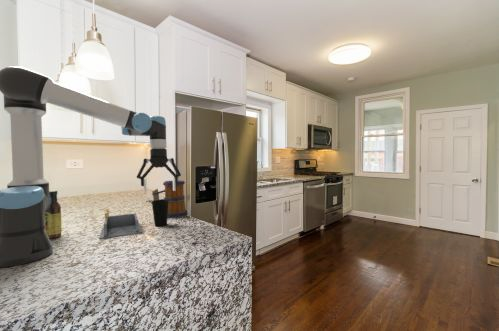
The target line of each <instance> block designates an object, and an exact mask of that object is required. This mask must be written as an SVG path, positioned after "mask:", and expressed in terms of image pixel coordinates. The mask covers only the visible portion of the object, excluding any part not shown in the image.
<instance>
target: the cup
mask: <svg viewBox="0 0 499 331" xmlns="http://www.w3.org/2000/svg"><path fill="white" fill-rule="evenodd" d="M151 207H152V214H153V222H154V227H156V228H160V227H161V228H162V227H165V226H167V225H168V218H167V215H168V200H165V199H159V200H155V201H154V200H152V201H151Z"/></svg>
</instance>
